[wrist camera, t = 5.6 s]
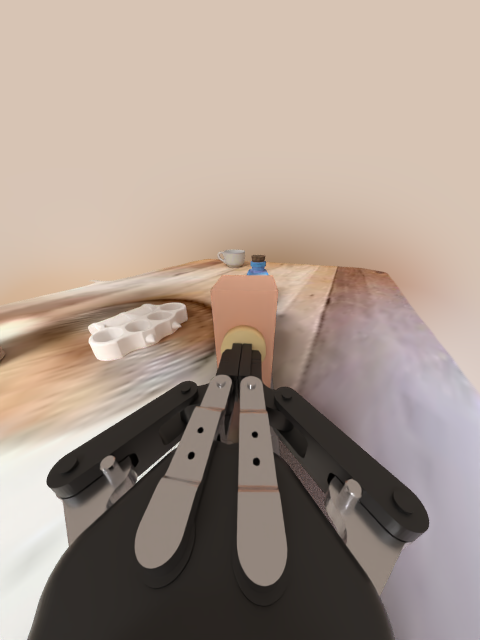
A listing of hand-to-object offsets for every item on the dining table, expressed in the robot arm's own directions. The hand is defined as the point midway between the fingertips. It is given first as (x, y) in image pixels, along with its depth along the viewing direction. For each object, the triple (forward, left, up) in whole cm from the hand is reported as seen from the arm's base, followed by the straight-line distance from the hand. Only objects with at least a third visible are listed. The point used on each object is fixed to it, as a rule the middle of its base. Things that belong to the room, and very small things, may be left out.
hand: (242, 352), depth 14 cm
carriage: (-3, +2, -6) cm, 7 cm away
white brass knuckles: (-26, -5, -9) cm, 28 cm away
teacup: (-75, +45, -9) cm, 87 cm away
